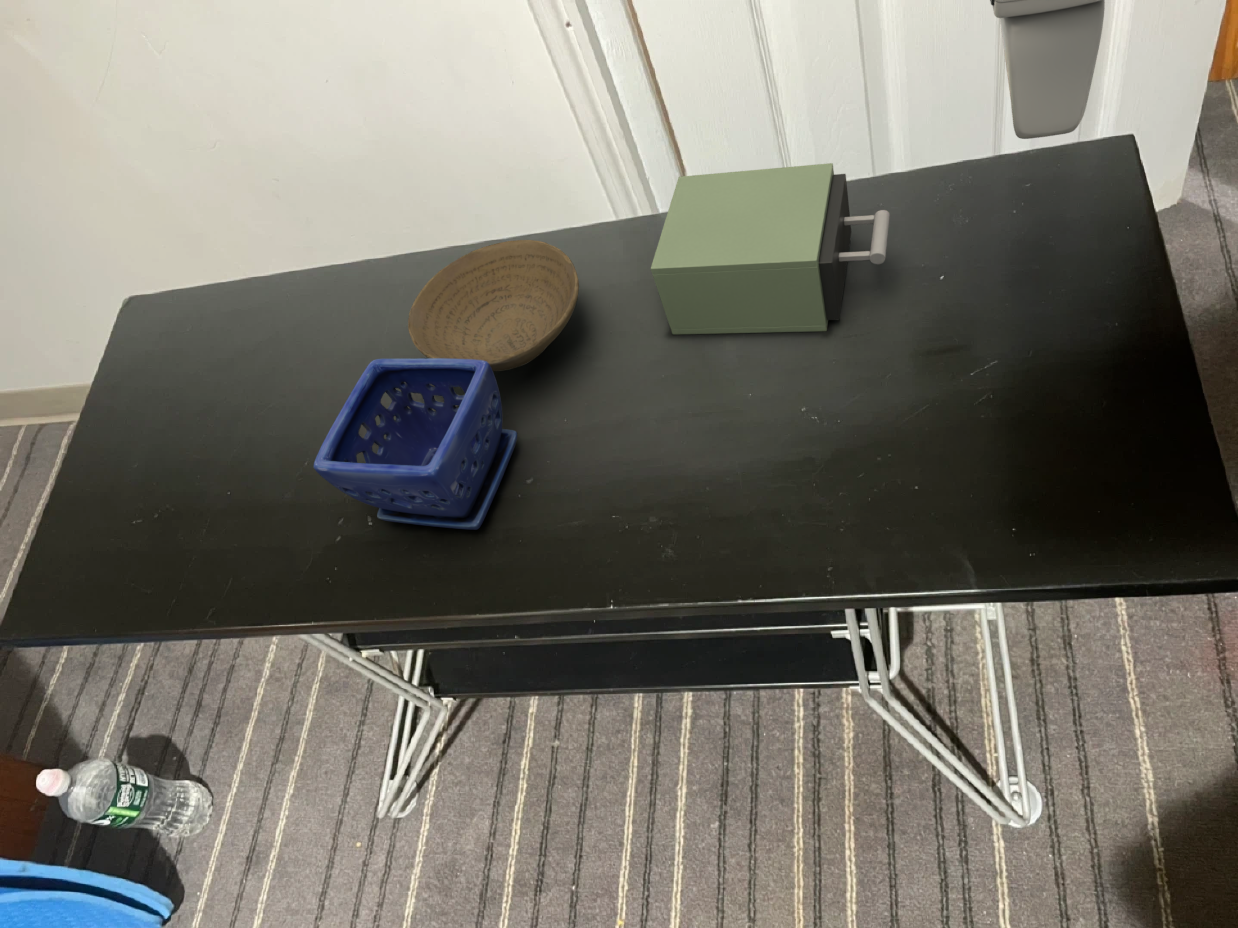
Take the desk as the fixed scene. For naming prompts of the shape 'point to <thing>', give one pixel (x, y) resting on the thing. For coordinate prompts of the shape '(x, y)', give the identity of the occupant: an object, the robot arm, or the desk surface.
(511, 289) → the bowl
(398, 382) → the flower pot
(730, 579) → the desk surface
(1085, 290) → the desk surface
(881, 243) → the drawer
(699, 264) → the cabinet
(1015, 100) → the robot arm
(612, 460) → the desk surface
